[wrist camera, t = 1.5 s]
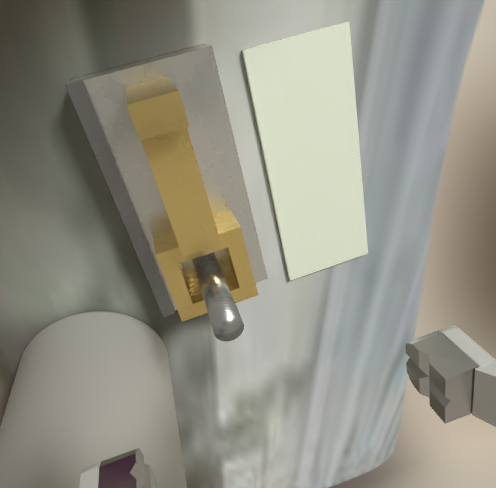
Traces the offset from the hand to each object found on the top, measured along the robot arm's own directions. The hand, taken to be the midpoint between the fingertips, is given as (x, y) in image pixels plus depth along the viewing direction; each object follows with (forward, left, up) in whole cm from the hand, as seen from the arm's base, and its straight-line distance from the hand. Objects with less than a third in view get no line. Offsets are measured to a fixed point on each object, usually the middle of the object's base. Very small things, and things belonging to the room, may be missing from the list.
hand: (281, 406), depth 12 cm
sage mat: (+3, +11, -23) cm, 26 cm away
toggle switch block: (+1, 0, -23) cm, 23 cm away
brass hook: (+1, -1, -20) cm, 20 cm away
